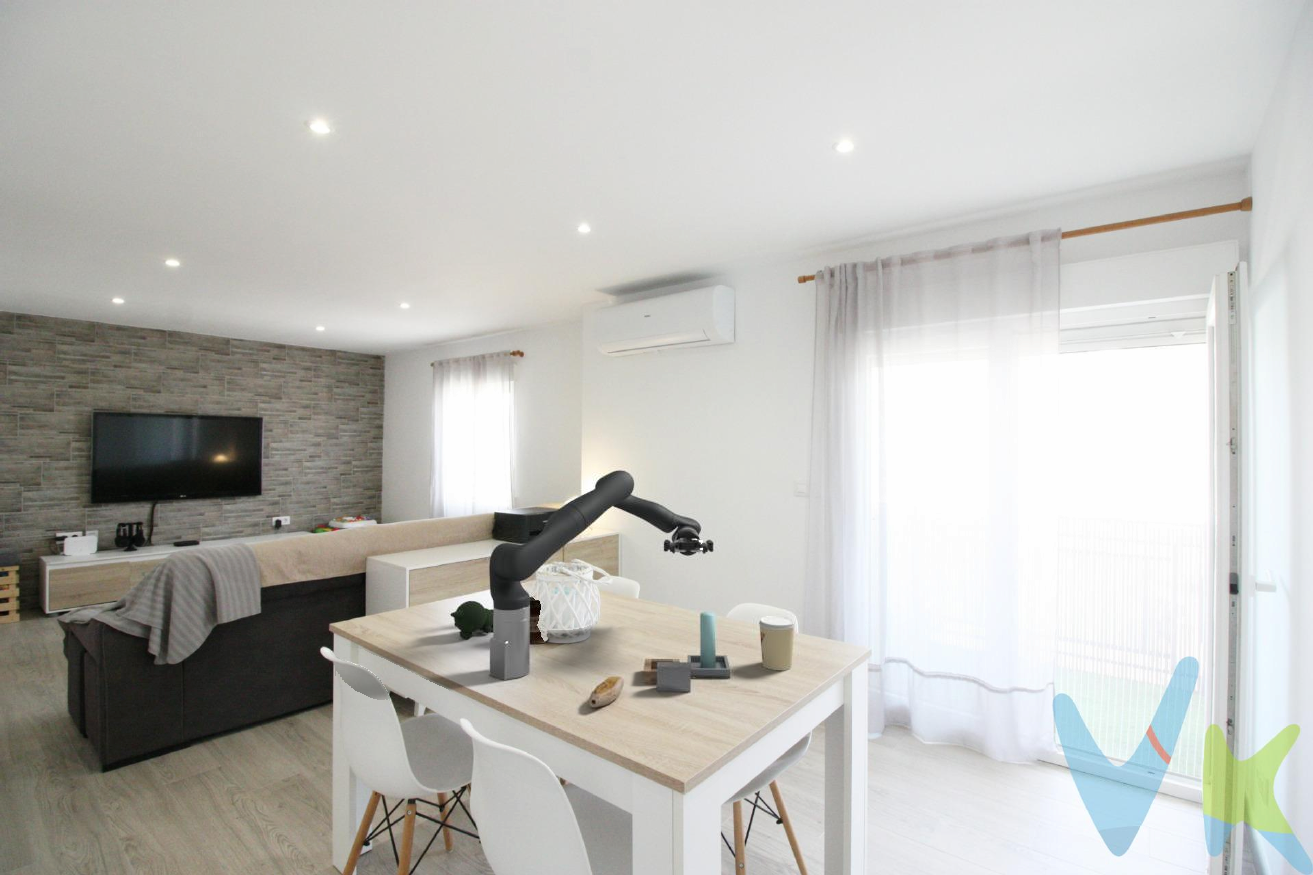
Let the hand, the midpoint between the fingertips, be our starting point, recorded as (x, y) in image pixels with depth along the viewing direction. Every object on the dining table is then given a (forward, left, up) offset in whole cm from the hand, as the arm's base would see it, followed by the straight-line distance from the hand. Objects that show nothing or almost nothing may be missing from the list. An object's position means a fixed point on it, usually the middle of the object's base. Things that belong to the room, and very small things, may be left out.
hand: (689, 549), depth 167 cm
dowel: (-4, -9, -29) cm, 31 cm away
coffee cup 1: (-14, +45, -30) cm, 56 cm away
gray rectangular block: (-20, -9, -30) cm, 37 cm away
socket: (-15, -2, -30) cm, 34 cm away
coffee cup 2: (+10, -22, -30) cm, 38 cm away
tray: (-4, -9, -30) cm, 32 cm away
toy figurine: (-19, +65, -30) cm, 74 cm away
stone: (-34, 0, -30) cm, 46 cm away
